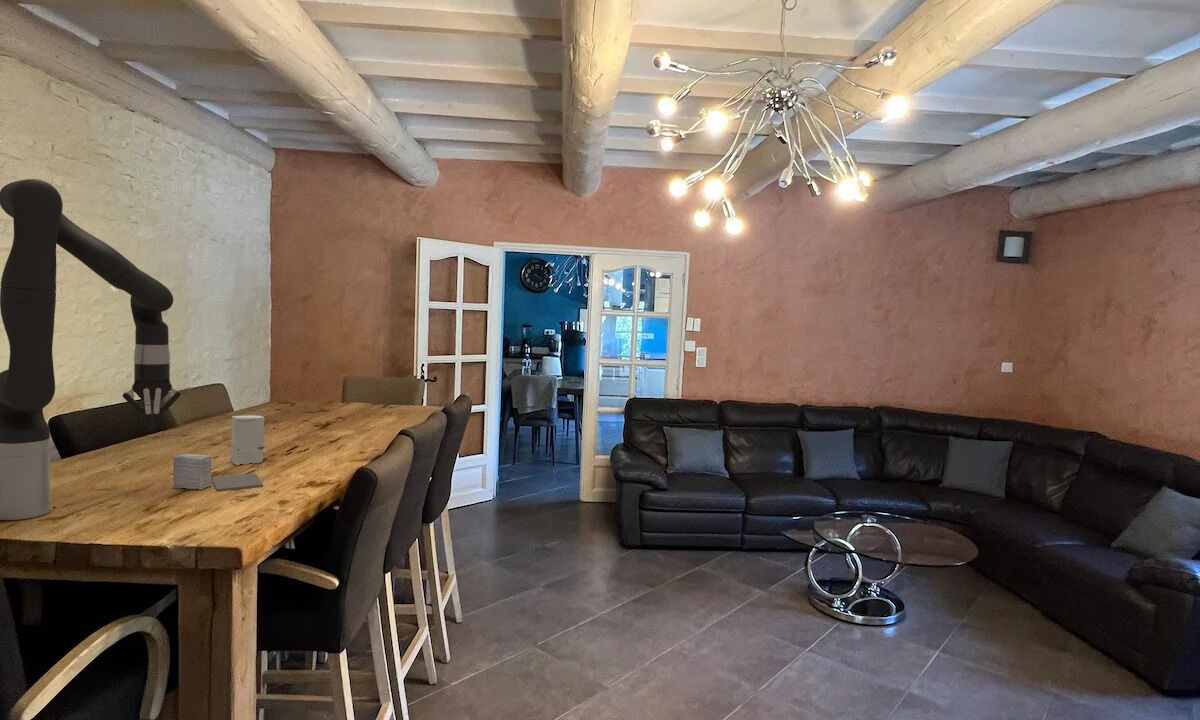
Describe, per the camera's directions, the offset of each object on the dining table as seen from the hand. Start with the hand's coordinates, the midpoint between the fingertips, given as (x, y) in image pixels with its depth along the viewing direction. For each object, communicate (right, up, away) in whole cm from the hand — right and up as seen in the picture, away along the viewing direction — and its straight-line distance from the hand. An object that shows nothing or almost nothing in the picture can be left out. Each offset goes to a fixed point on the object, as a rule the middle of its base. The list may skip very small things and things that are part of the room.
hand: (152, 427), depth 165 cm
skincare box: (+5, -15, +36) cm, 39 cm away
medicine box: (+6, -17, +6) cm, 19 cm away
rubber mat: (+15, -17, +12) cm, 26 cm away
